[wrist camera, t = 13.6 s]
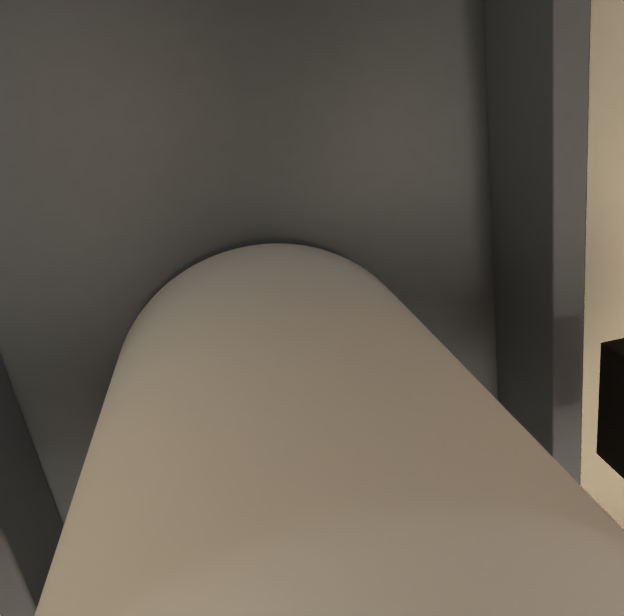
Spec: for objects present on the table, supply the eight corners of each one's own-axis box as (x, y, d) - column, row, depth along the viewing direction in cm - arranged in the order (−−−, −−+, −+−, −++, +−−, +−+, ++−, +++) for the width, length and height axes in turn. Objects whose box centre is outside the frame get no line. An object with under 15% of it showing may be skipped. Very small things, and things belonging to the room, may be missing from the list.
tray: (-203, -113, 12) (-370, -201, 8) (498, -189, 13) (598, -286, 10) (62, 573, 18) (29, 683, 14) (514, 465, 19) (580, 541, 16)
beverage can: (97, 489, 16) (-129, 1328, 5) (145, 205, 14) (-72, 614, 3) (368, 517, 18) (626, 1168, 7) (450, 270, 16) (1018, 668, 5)
